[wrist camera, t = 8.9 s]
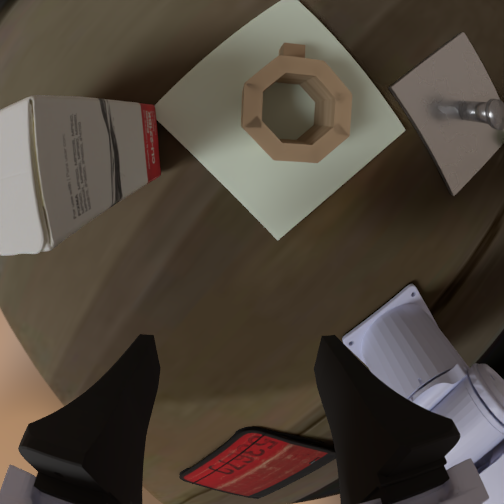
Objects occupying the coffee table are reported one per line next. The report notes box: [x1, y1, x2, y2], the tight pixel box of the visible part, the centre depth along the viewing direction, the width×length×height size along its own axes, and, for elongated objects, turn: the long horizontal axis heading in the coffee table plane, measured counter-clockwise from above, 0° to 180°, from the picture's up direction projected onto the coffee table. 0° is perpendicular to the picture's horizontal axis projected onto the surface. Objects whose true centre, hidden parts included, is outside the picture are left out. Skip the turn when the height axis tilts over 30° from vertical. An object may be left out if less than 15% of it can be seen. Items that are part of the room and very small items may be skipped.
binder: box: [179, 427, 336, 499], centre depth 35 cm, size 16×2×21 cm
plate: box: [388, 32, 504, 196], centre depth 15 cm, size 10×10×4 cm
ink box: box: [0, 95, 161, 256], centre depth 12 cm, size 8×5×12 cm, turn 92°
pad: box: [155, 0, 405, 240], centre depth 17 cm, size 12×12×1 cm
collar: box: [241, 43, 352, 163], centre depth 15 cm, size 7×5×4 cm
